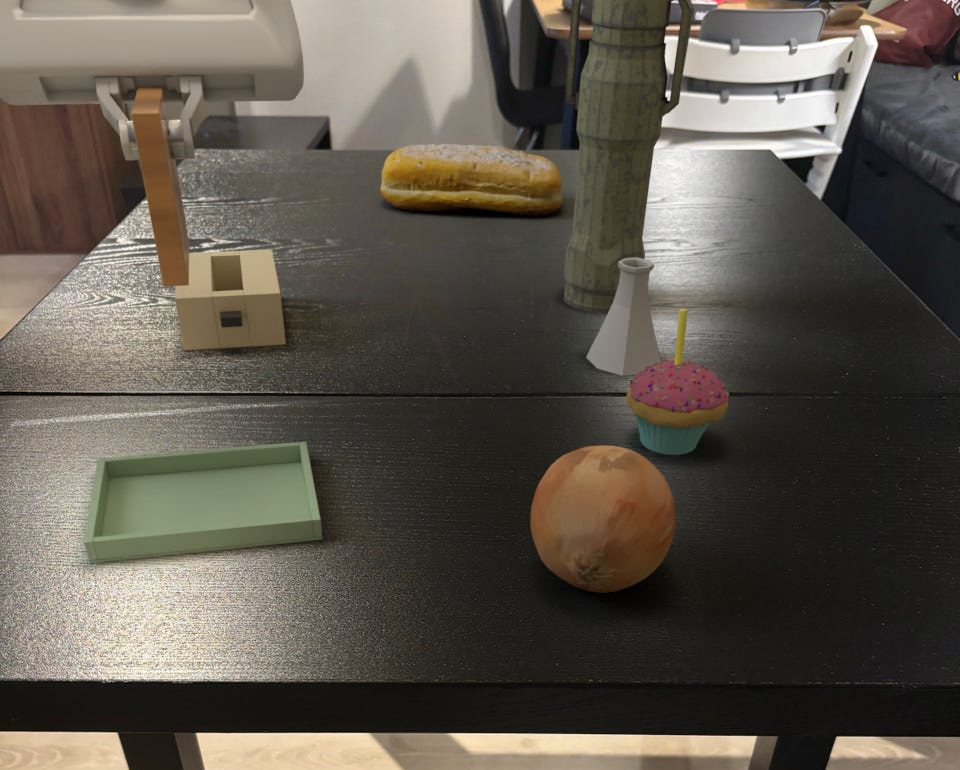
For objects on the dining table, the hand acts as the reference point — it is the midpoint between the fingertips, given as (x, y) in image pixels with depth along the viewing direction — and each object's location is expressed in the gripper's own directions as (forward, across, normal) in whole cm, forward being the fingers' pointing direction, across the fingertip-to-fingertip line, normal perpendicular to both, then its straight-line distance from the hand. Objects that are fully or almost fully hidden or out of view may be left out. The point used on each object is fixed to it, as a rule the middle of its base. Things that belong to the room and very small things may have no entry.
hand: (159, 154), depth 61 cm
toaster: (-5, +2, +38) cm, 39 cm away
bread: (-36, +38, +69) cm, 87 cm away
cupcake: (+18, +39, +15) cm, 45 cm away
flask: (+6, +41, +28) cm, 50 cm away
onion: (+31, +26, +3) cm, 40 cm away
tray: (+21, -1, +12) cm, 24 cm away
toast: (+6, 0, +4) cm, 7 cm away
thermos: (-6, +44, +40) cm, 60 cm away
